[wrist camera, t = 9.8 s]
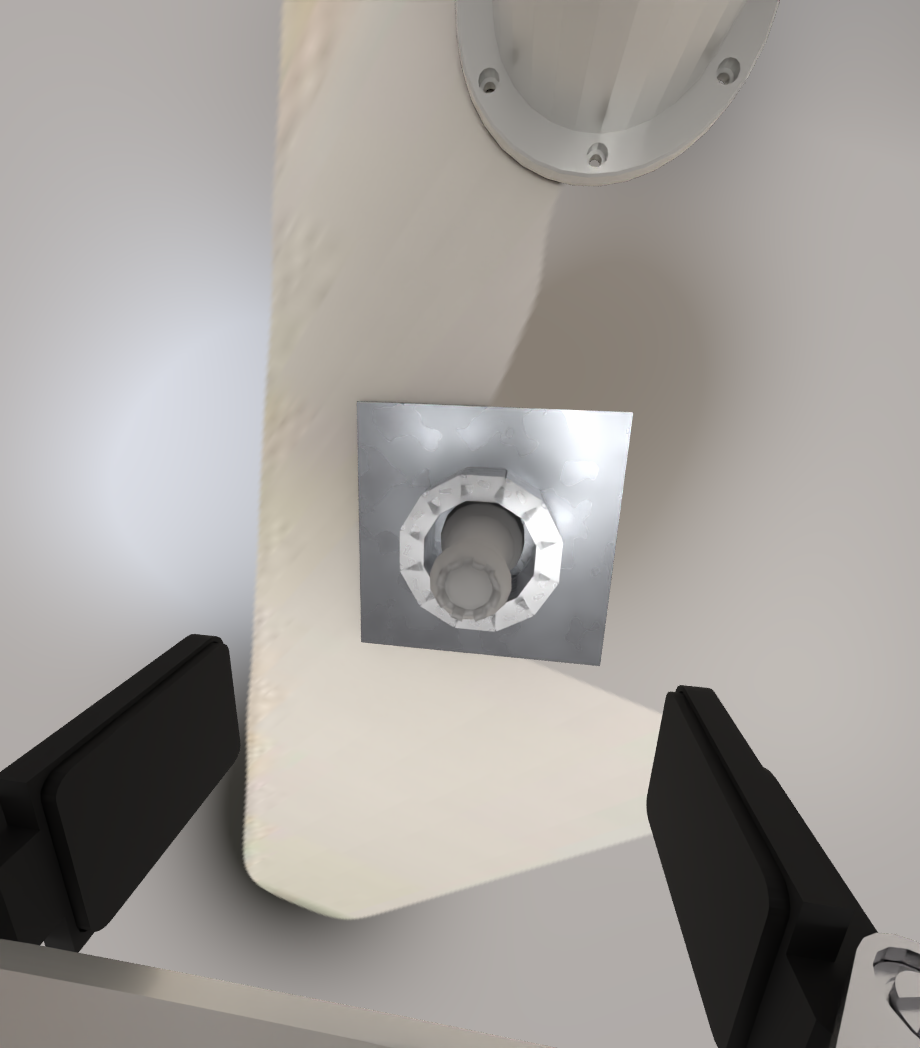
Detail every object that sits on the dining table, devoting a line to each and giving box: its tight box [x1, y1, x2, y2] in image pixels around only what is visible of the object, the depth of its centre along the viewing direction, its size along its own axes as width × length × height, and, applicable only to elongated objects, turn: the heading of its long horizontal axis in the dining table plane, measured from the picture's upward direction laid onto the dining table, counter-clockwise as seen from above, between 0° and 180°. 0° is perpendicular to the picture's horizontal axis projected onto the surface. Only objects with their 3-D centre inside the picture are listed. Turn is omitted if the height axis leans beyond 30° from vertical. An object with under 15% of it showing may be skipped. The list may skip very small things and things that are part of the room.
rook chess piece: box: [430, 501, 524, 622], centre depth 21 cm, size 4×4×8 cm
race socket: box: [357, 401, 633, 666], centre depth 24 cm, size 14×14×4 cm
